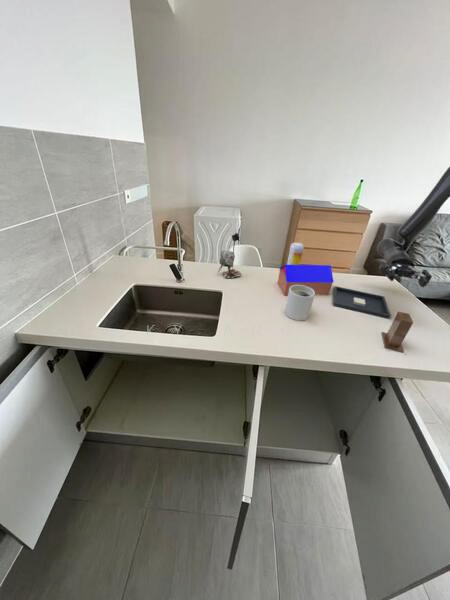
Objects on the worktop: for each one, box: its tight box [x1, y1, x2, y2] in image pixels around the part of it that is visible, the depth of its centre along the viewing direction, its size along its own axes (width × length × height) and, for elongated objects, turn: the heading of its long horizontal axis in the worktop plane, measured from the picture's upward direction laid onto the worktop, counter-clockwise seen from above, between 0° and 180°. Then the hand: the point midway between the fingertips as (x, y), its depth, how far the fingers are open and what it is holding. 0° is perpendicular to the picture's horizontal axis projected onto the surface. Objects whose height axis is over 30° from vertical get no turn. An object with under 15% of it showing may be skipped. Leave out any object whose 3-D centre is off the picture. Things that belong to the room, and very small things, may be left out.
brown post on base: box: [380, 311, 414, 354], centre depth 75 cm, size 5×8×12 cm, turn 158°
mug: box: [284, 285, 315, 321], centre depth 89 cm, size 11×10×10 cm
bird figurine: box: [217, 232, 242, 279], centre depth 111 cm, size 8×11×20 cm
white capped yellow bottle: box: [286, 242, 305, 265], centre depth 118 cm, size 6×6×15 cm
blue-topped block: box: [277, 264, 335, 297], centre depth 105 cm, size 12×20×12 cm, turn 94°
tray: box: [332, 286, 391, 320], centre depth 99 cm, size 20×16×2 cm
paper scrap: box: [353, 297, 365, 306], centre depth 99 cm, size 4×4×1 cm
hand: (408, 281), depth 76 cm, fingers open, 8 cm apart
